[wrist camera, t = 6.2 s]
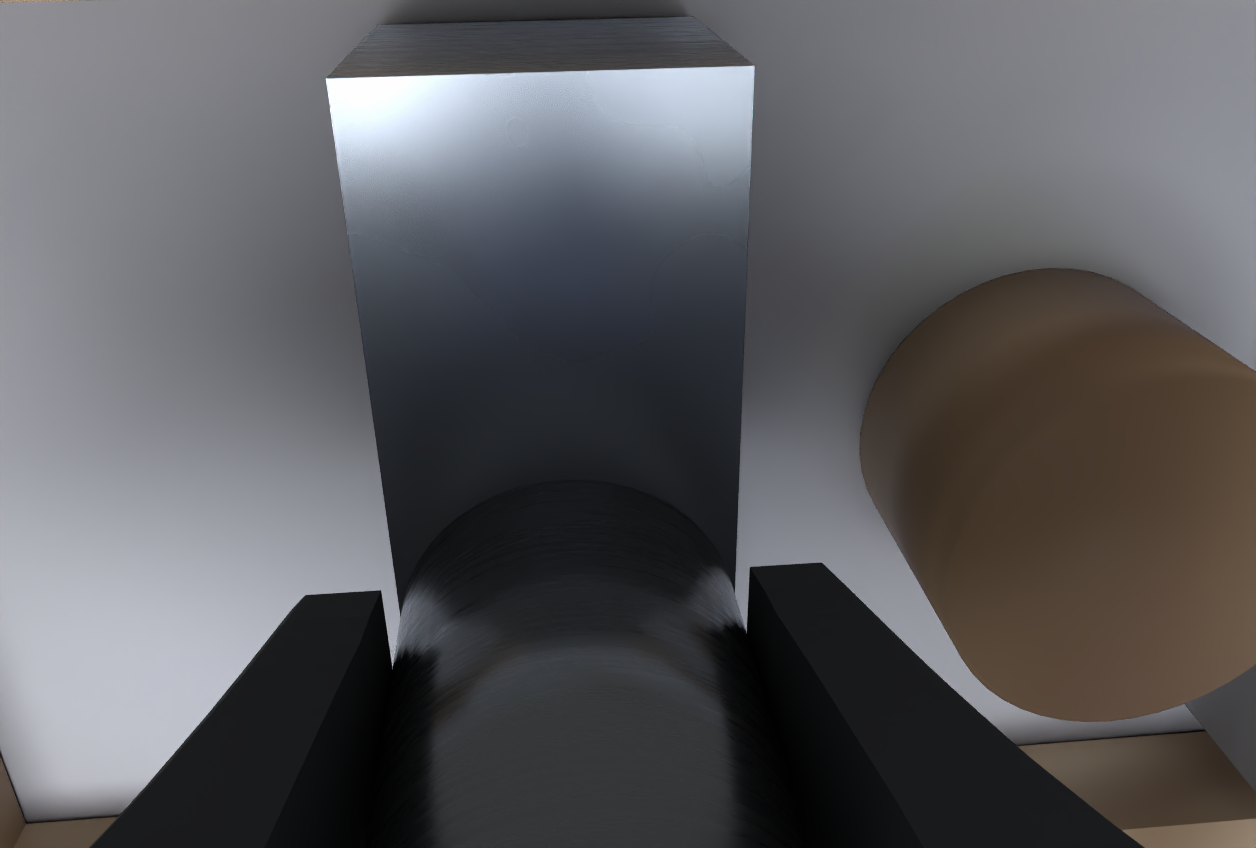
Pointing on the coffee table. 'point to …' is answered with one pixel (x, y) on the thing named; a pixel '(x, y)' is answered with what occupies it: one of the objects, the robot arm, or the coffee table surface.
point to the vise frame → (1094, 770)
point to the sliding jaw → (560, 431)
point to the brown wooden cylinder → (1073, 493)
